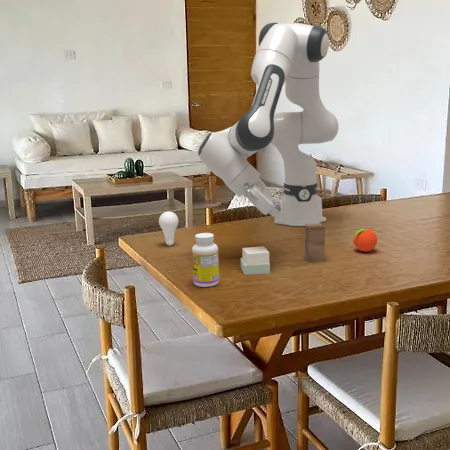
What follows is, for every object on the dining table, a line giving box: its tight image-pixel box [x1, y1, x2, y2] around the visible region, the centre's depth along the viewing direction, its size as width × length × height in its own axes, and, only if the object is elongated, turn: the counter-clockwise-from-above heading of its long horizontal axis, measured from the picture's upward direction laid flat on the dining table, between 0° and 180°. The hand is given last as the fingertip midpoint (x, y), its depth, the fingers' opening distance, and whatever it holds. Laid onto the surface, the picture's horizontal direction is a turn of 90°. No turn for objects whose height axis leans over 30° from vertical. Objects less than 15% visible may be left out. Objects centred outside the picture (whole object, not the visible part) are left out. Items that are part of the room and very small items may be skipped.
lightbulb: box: [158, 211, 179, 247], centre depth 187 cm, size 6×6×11 cm
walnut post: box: [304, 222, 326, 263], centre depth 168 cm, size 4×4×10 cm
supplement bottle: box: [191, 232, 220, 288], centre depth 150 cm, size 7×7×13 cm
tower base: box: [240, 257, 271, 276], centre depth 161 cm, size 7×7×3 cm
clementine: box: [352, 227, 378, 253], centre depth 175 cm, size 8×7×7 cm
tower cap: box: [241, 245, 270, 265], centre depth 161 cm, size 6×6×3 cm
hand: (280, 215), depth 167 cm, fingers open, 8 cm apart
